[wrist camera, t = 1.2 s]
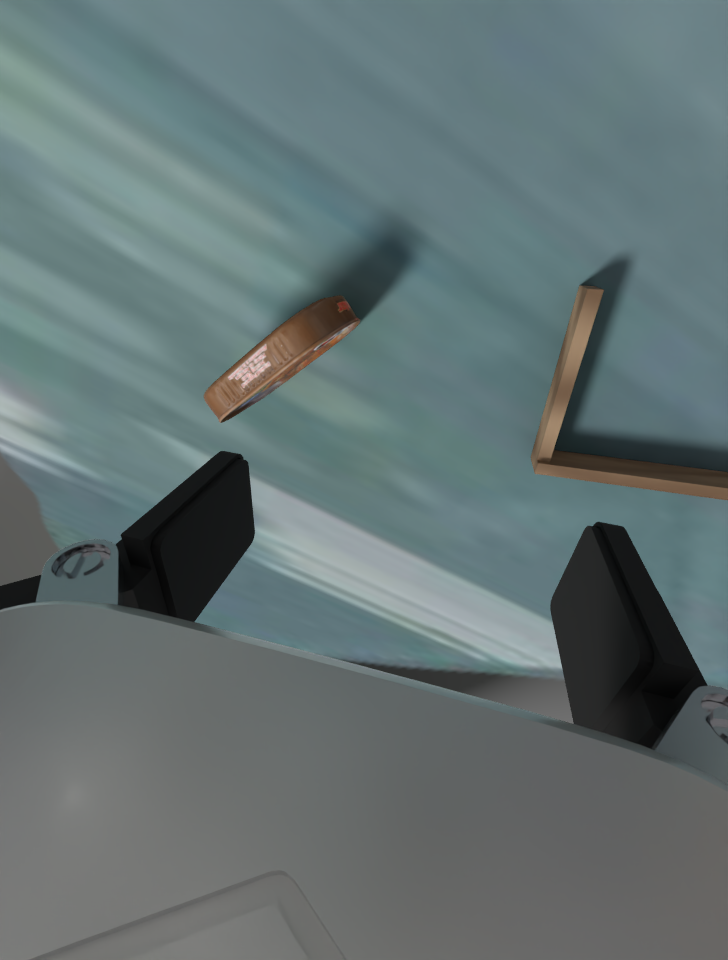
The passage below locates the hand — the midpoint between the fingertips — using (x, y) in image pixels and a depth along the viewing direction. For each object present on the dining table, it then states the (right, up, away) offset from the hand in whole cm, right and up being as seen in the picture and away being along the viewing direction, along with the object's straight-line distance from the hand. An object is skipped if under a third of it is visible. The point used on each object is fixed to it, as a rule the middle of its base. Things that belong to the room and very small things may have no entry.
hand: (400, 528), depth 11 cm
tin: (-7, +13, +25) cm, 29 cm away
